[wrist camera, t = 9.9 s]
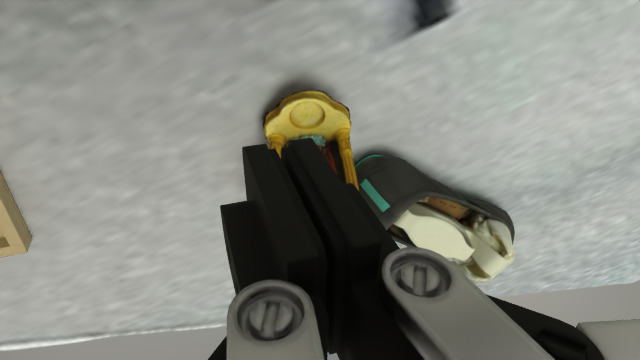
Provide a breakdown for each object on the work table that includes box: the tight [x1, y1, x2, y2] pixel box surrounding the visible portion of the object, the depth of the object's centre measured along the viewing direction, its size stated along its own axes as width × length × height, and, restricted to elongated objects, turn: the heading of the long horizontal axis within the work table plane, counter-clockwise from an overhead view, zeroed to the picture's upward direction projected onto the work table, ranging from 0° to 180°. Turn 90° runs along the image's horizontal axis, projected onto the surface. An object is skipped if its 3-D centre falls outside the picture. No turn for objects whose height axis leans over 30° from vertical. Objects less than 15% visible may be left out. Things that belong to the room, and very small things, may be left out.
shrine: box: [263, 90, 359, 191], centre depth 35 cm, size 12×8×15 cm
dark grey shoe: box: [355, 155, 515, 284], centre depth 50 cm, size 10×30×10 cm, turn 57°
